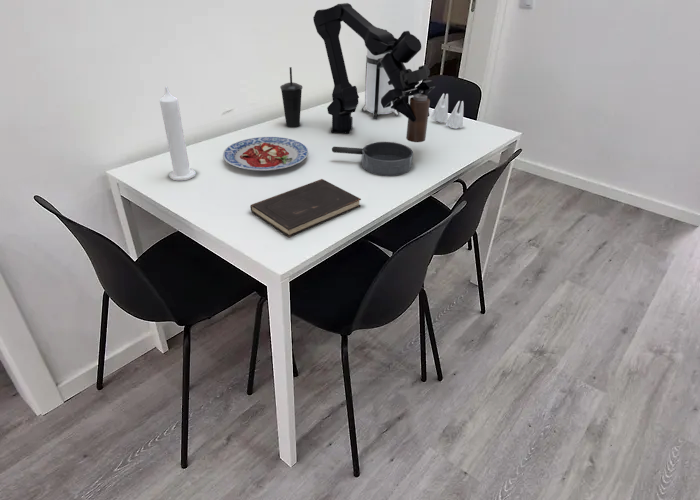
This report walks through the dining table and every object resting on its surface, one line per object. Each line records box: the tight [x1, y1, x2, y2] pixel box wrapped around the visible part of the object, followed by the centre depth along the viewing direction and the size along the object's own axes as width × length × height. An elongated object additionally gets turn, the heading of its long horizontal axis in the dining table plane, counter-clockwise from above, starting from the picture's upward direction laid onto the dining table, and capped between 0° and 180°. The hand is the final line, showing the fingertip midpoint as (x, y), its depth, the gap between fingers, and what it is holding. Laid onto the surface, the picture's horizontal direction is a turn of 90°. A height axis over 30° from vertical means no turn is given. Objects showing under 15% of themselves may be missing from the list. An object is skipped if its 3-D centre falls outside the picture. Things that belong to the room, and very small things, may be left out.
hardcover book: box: [249, 178, 362, 238], centre depth 123 cm, size 16×23×2 cm
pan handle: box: [331, 146, 367, 156], centre depth 147 cm, size 11×2×2 cm, turn 82°
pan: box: [361, 141, 414, 177], centre depth 146 cm, size 15×15×4 cm
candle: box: [159, 85, 196, 182], centre depth 131 cm, size 7×7×25 cm
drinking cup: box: [279, 66, 303, 128], centre depth 169 cm, size 8×8×20 cm
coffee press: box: [361, 29, 401, 120], centre depth 180 cm, size 17×16×30 cm
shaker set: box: [430, 93, 465, 130], centre depth 175 cm, size 12×4×11 cm, turn 48°
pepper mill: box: [405, 94, 431, 143], centre depth 144 cm, size 6×6×13 cm
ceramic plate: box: [222, 136, 309, 172], centre depth 149 cm, size 26×26×3 cm
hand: (421, 118), depth 143 cm, fingers closed on pepper mill, 6 cm apart
